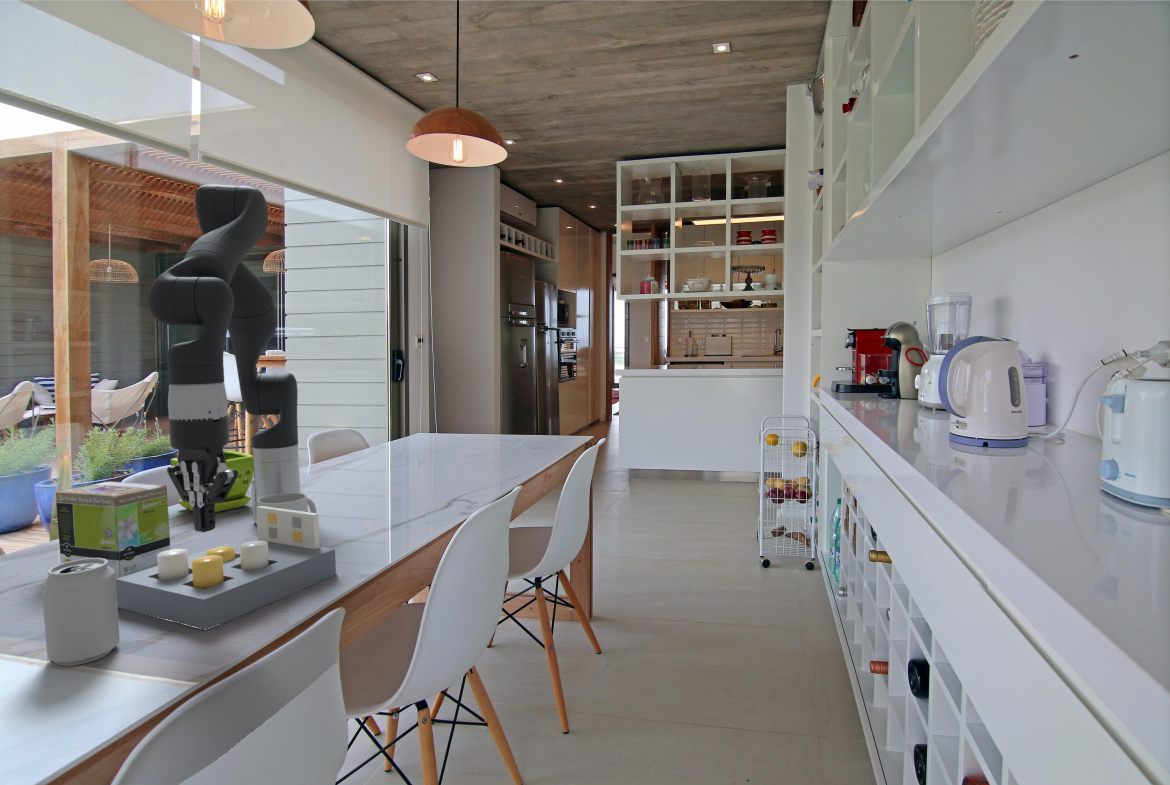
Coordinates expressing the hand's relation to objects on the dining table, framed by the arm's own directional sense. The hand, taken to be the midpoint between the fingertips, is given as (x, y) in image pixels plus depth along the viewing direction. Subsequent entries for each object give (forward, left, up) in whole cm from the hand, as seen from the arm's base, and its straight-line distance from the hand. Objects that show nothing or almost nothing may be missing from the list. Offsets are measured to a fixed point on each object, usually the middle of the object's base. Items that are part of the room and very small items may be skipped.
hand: (205, 530), depth 98 cm
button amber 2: (0, 0, -10) cm, 10 cm away
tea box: (-33, +6, -13) cm, 36 cm away
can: (-2, -16, -13) cm, 20 cm away
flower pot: (-56, +42, -13) cm, 71 cm away
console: (-4, +7, -12) cm, 15 cm away
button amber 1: (-8, +8, -11) cm, 16 cm away
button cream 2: (0, +8, -10) cm, 12 cm away
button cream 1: (-8, 0, -10) cm, 12 cm away
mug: (-14, +27, -13) cm, 33 cm away
